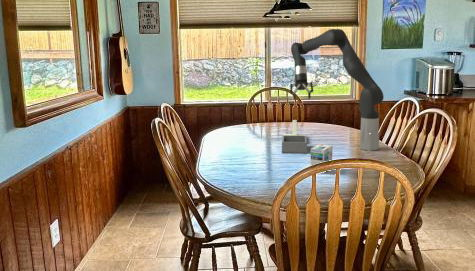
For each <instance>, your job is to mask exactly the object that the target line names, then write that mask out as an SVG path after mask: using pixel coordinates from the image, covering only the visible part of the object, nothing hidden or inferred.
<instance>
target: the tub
mask: <svg viewBox="0 0 475 271" xmlns="http://www.w3.org/2000/svg"><path fill="white" fill-rule="evenodd" d="M307 141H308V139H307V135H306V136H296V135H283V134H282V138H281V154H300V155H303V154H305V155H306V154H307V152H308V142H307Z"/></svg>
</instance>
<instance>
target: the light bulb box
mask: <svg viewBox="0 0 475 271" xmlns="http://www.w3.org/2000/svg"><path fill="white" fill-rule="evenodd" d="M329 160H332V161H333V145H330V144H329V145H328V144H320V143H319V144H317V145H315V146H313V147H312V148H310V166H311V165H314V164H317V163H320V162H324V161H329ZM310 166H309V167H310ZM325 173H326V172H324V173H322V174H325Z"/></svg>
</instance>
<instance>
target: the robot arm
mask: <svg viewBox="0 0 475 271" xmlns="http://www.w3.org/2000/svg"><path fill="white" fill-rule="evenodd" d="M323 46H331V47H333V46H334V47H336V46H337V47H338V48H339V49H340V51H341V53H342V65H343V67H344V69H345V71H346V73H347V74H348V76H350V77H351V78H352V79H353V80H354V81H356V82H357V83H359V85H361V86H362V87H363V89H362V90H361V92H360V94H359V112H360V132H359V133H360V134H359V135H360V136H359V149H360V150H362V151H369V152H371V151H372V152H373V151H378V150H379V146H380V132H379V128H380V127H379V125H380V124H379V122H380V112H378V111H377V110H375V105H379V104H381V103H382V102H383V101H384V96H385V95H384V92H383V91H382V89H381V87H380V86H379V85H378V84H377V83H376V81H375V80H374V79H373V77H372V76H371V74H370V73H369V72H368V70H367V69H366V66H365V65H364V63H363V62H362V60H361V59H360V57H359V56H358V54H357V53H356V51H355V50H354V48H353V47H352V45H351V42H350V40H349V38H348V36H347V34H346V32H345V31H344V30H343V29H341V28H331V29H328V30H326V31H324V32H323V33H321V34H319V35H318V36H316V37H315V36H314V37H313V38H309V39H306V40H305V41H303V42H302V43H301V42H293V43H292V45H291V47H290V52H291V56H292V59H293V61H294V82H295V83H290V85H289V86H290V87H289V88H290V89H289V92H290V94H292V95H293V96H292V97H293V100H294V101H296V100H297V96H296V93H297V92H298V91H305V90H306V92H307V96H308V97H307V98H308V100H310V99H311V98H312V97H311V96H312V95H311V93H313V92H314V85H313V84H314V83H313V82H312V81H311V82H308V70H307V63H306V62H307V60H306V58H305V57H304V56H303V55H307V54H308V53H309V52H312V51H315V50H317V49H319V48H320V47H323ZM294 87H295V89H294V90H293V88H294ZM308 87H310V89H309V88H308Z"/></svg>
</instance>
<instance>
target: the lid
mask: <svg viewBox="0 0 475 271" xmlns="http://www.w3.org/2000/svg"><path fill="white" fill-rule="evenodd" d="M297 121H298V120H297V119H292V133H283V134H282V136H283V135H296V136H306V137H307V134H304V133H299V134H298V131H297V130H298V128H297V125H298V122H297Z"/></svg>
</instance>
